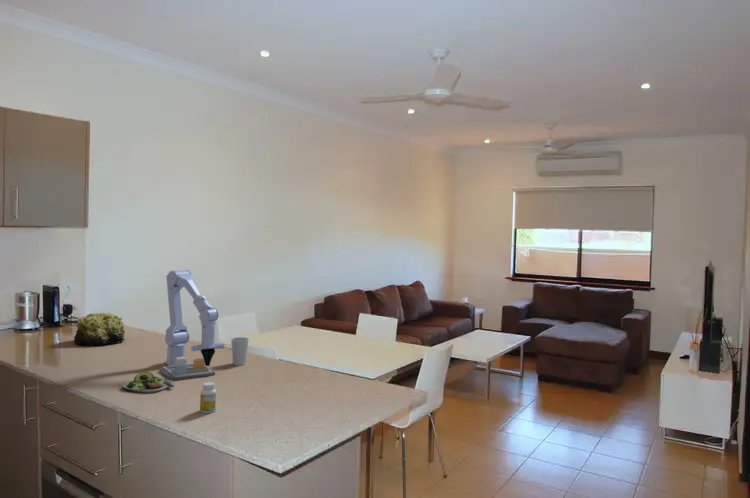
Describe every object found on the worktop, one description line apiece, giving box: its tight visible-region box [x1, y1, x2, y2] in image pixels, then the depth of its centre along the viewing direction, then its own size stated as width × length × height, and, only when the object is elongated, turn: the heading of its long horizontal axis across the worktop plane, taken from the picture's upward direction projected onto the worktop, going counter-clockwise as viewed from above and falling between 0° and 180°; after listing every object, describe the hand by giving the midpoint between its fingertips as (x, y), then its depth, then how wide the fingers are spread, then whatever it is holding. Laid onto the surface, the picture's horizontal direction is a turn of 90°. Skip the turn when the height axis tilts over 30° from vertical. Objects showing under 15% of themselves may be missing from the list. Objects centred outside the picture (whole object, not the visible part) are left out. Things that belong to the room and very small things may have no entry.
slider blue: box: [175, 364, 187, 375], centre depth 238 cm, size 3×4×5 cm
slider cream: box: [175, 356, 188, 366], centre depth 249 cm, size 3×4×5 cm
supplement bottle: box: [199, 381, 217, 414], centre depth 197 cm, size 5×5×10 cm
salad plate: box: [121, 371, 175, 394], centre depth 223 cm, size 19×18×5 cm
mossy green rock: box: [73, 312, 126, 348], centre depth 301 cm, size 25×24×16 cm
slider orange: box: [192, 357, 205, 369], centre depth 248 cm, size 3×4×5 cm
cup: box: [231, 336, 250, 366], centre depth 267 cm, size 8×8×12 cm
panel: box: [158, 363, 216, 382], centre depth 246 cm, size 18×19×2 cm
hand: (207, 365), depth 251 cm, fingers closed
